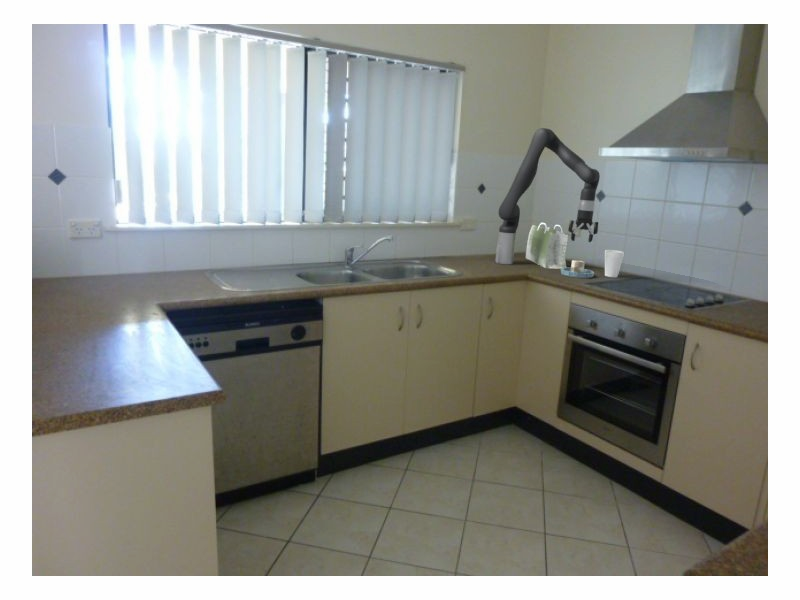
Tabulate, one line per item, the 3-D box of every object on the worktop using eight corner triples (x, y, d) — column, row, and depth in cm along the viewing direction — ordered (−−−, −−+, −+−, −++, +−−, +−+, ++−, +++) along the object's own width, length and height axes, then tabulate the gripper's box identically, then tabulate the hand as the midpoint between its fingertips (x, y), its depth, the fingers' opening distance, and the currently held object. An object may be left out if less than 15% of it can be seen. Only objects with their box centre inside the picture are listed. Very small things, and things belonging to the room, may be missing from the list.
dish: (566, 277, 285) (566, 272, 284) (557, 271, 300) (557, 266, 300) (597, 278, 285) (598, 274, 284) (587, 273, 301) (587, 268, 300)
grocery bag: (569, 269, 310) (574, 226, 305) (544, 268, 308) (550, 225, 303) (546, 259, 341) (550, 220, 335) (524, 258, 339) (528, 219, 333)
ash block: (573, 273, 290) (575, 261, 288) (570, 271, 295) (571, 260, 293) (583, 273, 290) (584, 262, 288) (580, 272, 295) (581, 260, 293)
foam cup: (603, 273, 302) (607, 249, 299) (622, 276, 298) (625, 251, 295) (599, 275, 294) (603, 251, 291) (618, 278, 290) (622, 253, 287)
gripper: (574, 209, 281) (569, 241, 285) (602, 211, 281) (597, 243, 285) (569, 207, 288) (565, 239, 292) (597, 209, 288) (592, 241, 292)
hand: (581, 241), depth 289 cm, fingers open, 8 cm apart
